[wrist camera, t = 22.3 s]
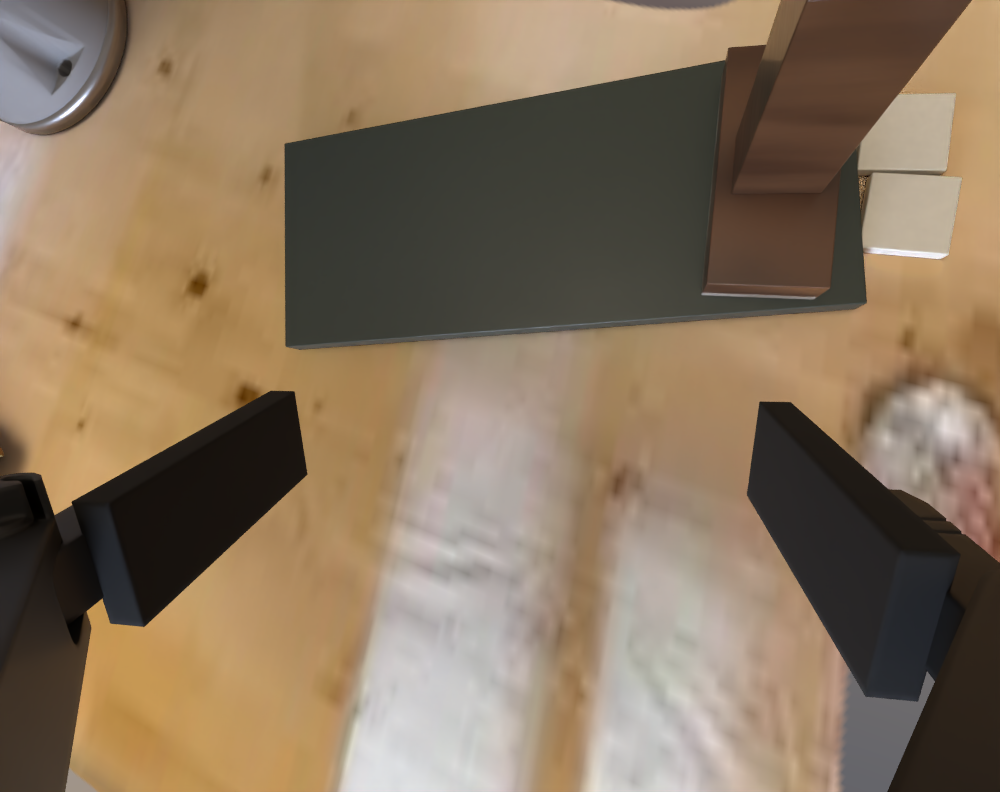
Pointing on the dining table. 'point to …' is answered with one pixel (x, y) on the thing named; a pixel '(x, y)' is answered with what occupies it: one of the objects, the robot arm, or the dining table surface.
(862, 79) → the brown upright slab stand
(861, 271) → the slate board
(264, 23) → the dining table surface
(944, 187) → the chalk patch
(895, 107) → the chalk patch
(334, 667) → the dining table surface
